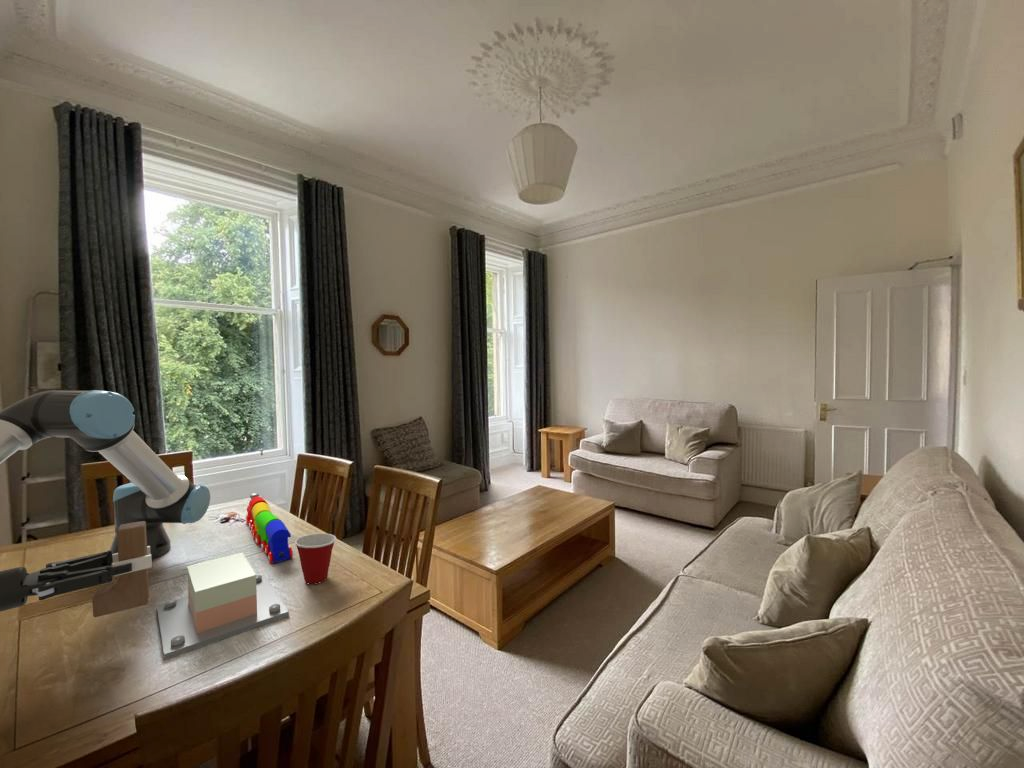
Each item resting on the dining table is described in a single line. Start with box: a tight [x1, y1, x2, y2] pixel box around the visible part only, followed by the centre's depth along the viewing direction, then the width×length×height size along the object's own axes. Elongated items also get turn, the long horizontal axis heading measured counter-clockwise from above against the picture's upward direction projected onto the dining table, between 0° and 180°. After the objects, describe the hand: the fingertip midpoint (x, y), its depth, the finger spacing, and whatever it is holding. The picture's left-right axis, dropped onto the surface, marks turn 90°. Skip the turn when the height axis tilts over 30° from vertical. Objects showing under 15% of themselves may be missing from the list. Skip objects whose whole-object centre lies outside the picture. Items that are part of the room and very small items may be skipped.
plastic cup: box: [294, 533, 337, 585], centre depth 126 cm, size 11×11×12 cm
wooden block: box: [91, 521, 150, 618], centre depth 98 cm, size 9×4×18 cm, turn 125°
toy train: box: [245, 492, 294, 564], centre depth 153 cm, size 45×7×11 cm, turn 41°
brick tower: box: [156, 552, 290, 661], centre depth 109 cm, size 24×24×11 cm
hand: (150, 556), depth 101 cm, fingers closed on wooden block, 5 cm apart
